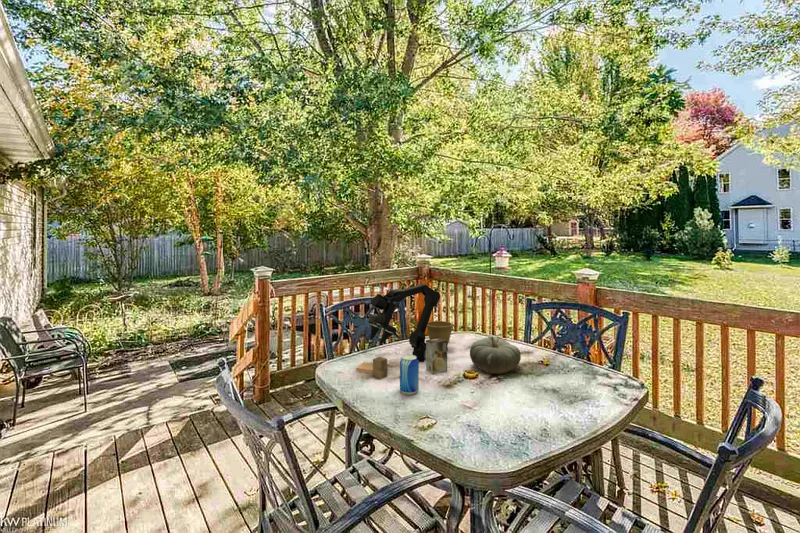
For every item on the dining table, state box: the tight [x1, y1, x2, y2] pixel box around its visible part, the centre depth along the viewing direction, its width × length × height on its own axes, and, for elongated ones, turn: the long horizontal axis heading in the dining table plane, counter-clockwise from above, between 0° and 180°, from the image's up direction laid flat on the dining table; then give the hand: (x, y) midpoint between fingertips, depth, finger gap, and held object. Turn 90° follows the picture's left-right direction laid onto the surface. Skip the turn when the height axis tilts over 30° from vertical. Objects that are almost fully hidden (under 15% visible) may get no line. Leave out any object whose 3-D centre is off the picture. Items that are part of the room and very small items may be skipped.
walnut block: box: [372, 356, 388, 380], centre depth 203 cm, size 5×5×9 cm
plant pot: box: [426, 320, 453, 347], centre depth 244 cm, size 15×15×16 cm
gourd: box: [469, 335, 522, 375], centre depth 214 cm, size 25×25×17 cm
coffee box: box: [425, 338, 448, 375], centre depth 211 cm, size 9×6×16 cm
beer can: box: [399, 354, 420, 396], centre depth 185 cm, size 8×8×16 cm
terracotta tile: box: [355, 361, 373, 375], centre depth 213 cm, size 9×9×2 cm
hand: (375, 341), depth 210 cm, fingers open, 9 cm apart
